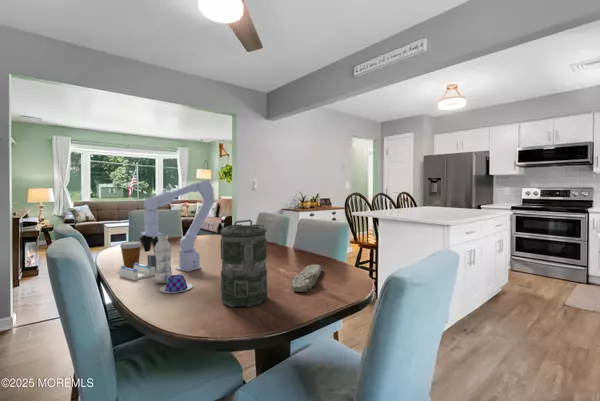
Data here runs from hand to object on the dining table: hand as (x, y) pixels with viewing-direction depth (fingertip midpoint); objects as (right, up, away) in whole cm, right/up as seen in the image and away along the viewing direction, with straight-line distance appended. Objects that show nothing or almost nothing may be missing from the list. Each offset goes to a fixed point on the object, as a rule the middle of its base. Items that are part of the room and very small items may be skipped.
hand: (152, 252), depth 144 cm
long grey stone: (+73, -10, -14) cm, 75 cm away
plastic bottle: (+13, -10, -17) cm, 23 cm away
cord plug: (0, -8, 0) cm, 8 cm away
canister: (+50, -11, -37) cm, 63 cm away
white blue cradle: (-2, -9, -3) cm, 10 cm away
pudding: (+21, -11, -24) cm, 34 cm away
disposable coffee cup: (-16, -9, +11) cm, 21 cm away
